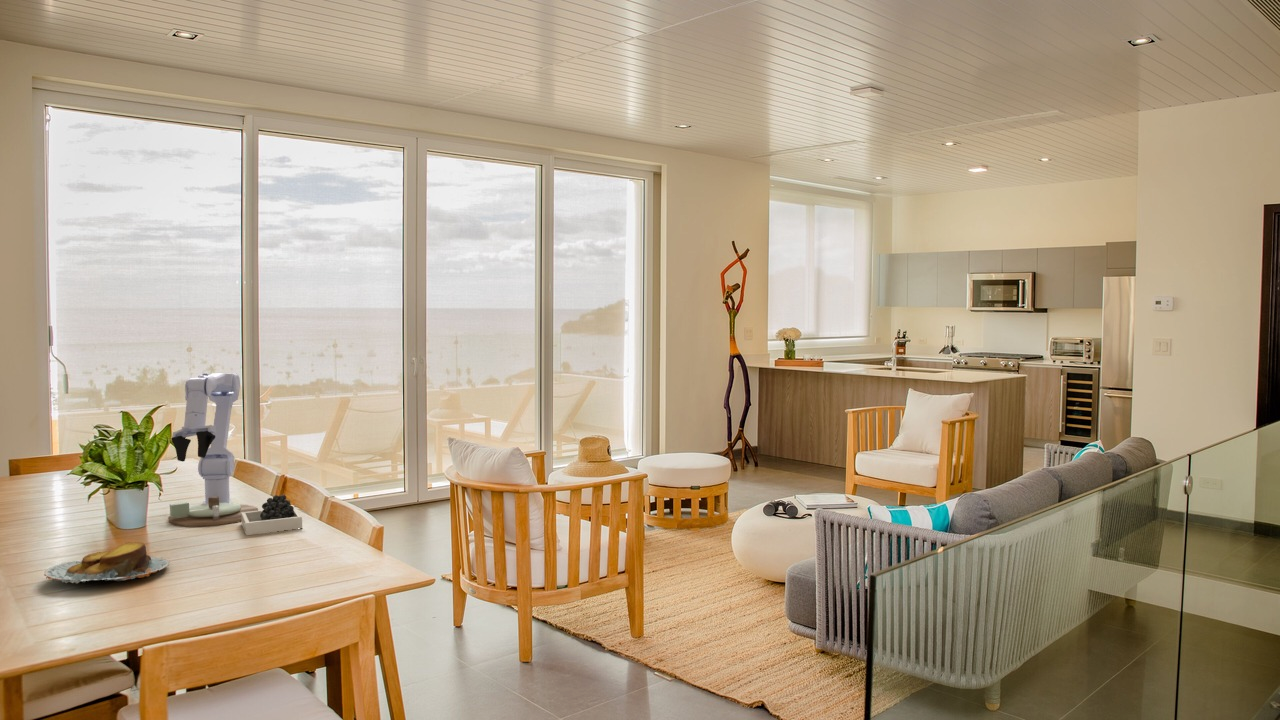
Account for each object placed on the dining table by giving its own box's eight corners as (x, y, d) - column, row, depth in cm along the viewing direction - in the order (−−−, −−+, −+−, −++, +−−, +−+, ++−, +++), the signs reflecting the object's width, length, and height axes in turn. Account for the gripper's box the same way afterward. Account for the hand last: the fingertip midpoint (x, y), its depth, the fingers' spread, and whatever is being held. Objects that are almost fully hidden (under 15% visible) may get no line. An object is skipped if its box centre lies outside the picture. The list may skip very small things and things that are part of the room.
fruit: (269, 501, 251) (291, 488, 266) (242, 510, 252) (265, 497, 267) (280, 529, 252) (301, 515, 267) (253, 538, 252) (276, 523, 267)
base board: (167, 513, 276) (167, 494, 276) (254, 504, 288) (253, 486, 288) (169, 530, 254) (168, 510, 254) (262, 520, 267) (261, 500, 266)
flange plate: (233, 503, 282) (233, 491, 282) (246, 511, 270) (246, 499, 270) (165, 512, 270) (165, 500, 269) (176, 521, 258) (176, 509, 258)
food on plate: (41, 574, 214) (40, 547, 214) (158, 556, 230) (157, 530, 230) (50, 601, 194) (49, 571, 193) (178, 579, 209) (178, 551, 209)
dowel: (212, 522, 263) (212, 505, 263) (219, 522, 264) (218, 505, 264) (213, 524, 262) (212, 507, 262) (219, 523, 263) (219, 506, 262)
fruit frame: (241, 524, 262) (241, 512, 262) (295, 518, 269) (294, 506, 269) (246, 535, 249) (245, 523, 249) (302, 528, 256) (301, 516, 256)
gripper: (166, 416, 266) (161, 459, 261) (204, 408, 262) (200, 452, 257) (184, 421, 272) (179, 464, 268) (222, 414, 268) (218, 457, 264)
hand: (191, 459), depth 263 cm, fingers open, 7 cm apart
